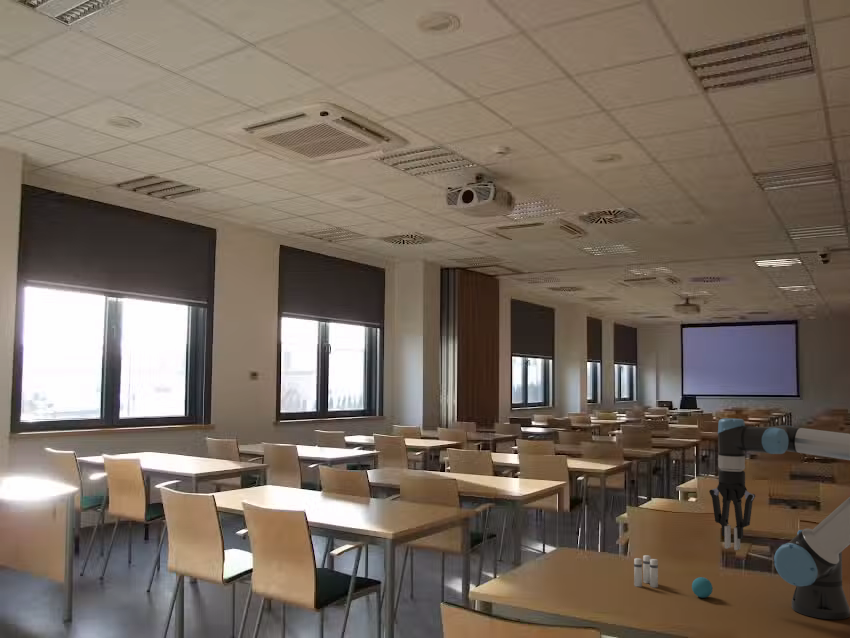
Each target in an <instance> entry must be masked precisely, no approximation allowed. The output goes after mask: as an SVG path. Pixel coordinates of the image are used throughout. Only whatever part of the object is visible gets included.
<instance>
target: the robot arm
mask: <svg viewBox="0 0 850 638" xmlns="http://www.w3.org/2000/svg"><path fill="white" fill-rule="evenodd" d="M745 423H746V422H745V420H744V419H743V418H726V417H725V418H724V417H723V418H721V419H719V420H718V428H717V429H718V430H717V438H718V439H717V440H718V443H717V444H718V445H717V447H718V449H717V450H718V457H717V458H718V461H717V462H718V463H717V466H718V468H719V470H718V484H717V486H716V487H715V488H713V489H710V490H709V495H710V496H711V500H712V507H713V508H712V509H713V515H714V521H715V523H717V524H720V525H721V537H724V549H729V548H731V547H732V544H731V543H732V542H731V541H732V540H731V539H732V538H731V536H732V534H731V532H732V531H731V526H732V525H730V522H729V518H730V508H731V507H730V505H731V501H732V502H733V503H732V504H733V508H734V514H735V515H734V516H735V522H736V523H735V524H736V525H735V527H733V544H734V545H733V549H734V551H739V550H741V540H742V539H743V538H744V528H745V527H749V526H750V524H751V519H752V518H751V517H752V510H753V509H752V508H753V502H754V499H755V497H756V494H755V493H751V492H749V491H748V489H747V487H746V472H745V469H746V452H752V453H753V452H754V453H761V454H763V453H764V454H769V455H783V454H785V453H786V452H791V453H796V454H797V453H798V454H799V453H800V454H807V455H811V456H812V455H813V456H819V457H826V458H832V459H833V458H834V459H837V460H847V461H850V433H846V432H845V433H844V432H837V431H829V430H822V429H821V430H819V429H814V428H804V427H796V426H792V425H788V424H780V425H775V426H751V425H750V426H749V425H746V424H745ZM720 495H721V497H722V501H720V500H721V499H720ZM744 496H745V497H744ZM743 497H744V499H745V503H744V509H743V507H742V503H743V502H742V498H743ZM721 502H722V508H721ZM743 510H744V511H743ZM849 546H850V496H849V497H847V499H845V500H844V501H843V502H842V503H841V504H840V505H839V506H837V507H836V508H835V509H834V510H833V511H832V512H830V513H829V515H827V516H826V517H825V518H824V519H822V520H821V521H820V522H819V523H818V524H817V525H816V526H814V528H807V527H806V528H804V529H799V530H798V531H797V534H796V535H795V536H794V537H793V538H792V539H791V540H790V541H789V542H787V543H783V544H781V545H780V546H779V547H778V548H777V549H776V551H775V553H774V556H773V560H774V562H773V563H774V567H775V569H776V572H777V574H778V575H779V576H780V577H781V579H783V581H784V582H786V583H788V584H789V585H792V586H795V590H794V593H793V595H792V598H791V609H792V610H793V611H794V612H796V613H798V614H801V615H804V616H808V617H812V618H818V619H824V620H846V619H848V618H850V605H849V604H848V601H847V597H846V594H845V592H844V588H843V562H842V561H843V555H842V554H843V551H844V550H845V549H846V548H848V547H849Z"/></svg>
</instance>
